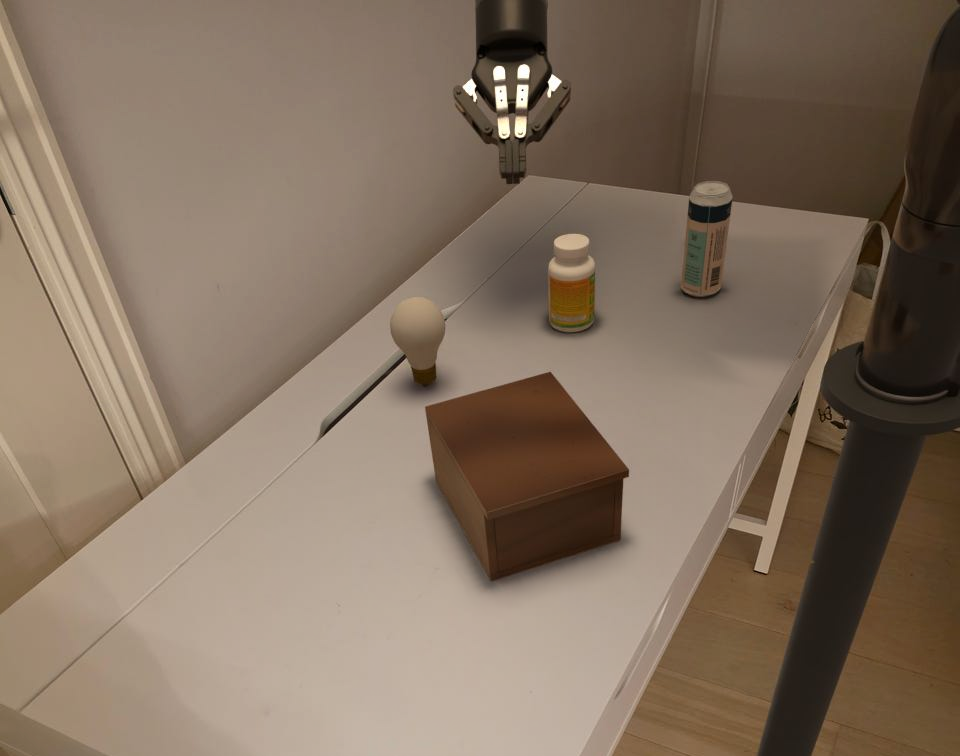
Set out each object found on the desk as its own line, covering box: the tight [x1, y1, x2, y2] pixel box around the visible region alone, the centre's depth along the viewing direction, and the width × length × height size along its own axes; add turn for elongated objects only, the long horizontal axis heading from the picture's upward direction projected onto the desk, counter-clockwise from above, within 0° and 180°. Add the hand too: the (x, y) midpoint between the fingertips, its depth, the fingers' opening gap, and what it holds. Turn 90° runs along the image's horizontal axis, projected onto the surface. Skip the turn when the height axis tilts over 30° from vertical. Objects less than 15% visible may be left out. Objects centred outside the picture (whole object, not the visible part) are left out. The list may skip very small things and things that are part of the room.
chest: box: [425, 413, 625, 582], centre depth 80 cm, size 16×13×8 cm
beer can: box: [680, 180, 733, 298], centre depth 103 cm, size 5×5×12 cm
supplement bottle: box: [547, 233, 596, 333], centre depth 102 cm, size 5×5×10 cm
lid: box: [424, 371, 630, 520], centre depth 77 cm, size 16×13×1 cm
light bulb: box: [389, 296, 446, 387], centre depth 95 cm, size 6×6×10 cm
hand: (513, 180), depth 93 cm, fingers closed
